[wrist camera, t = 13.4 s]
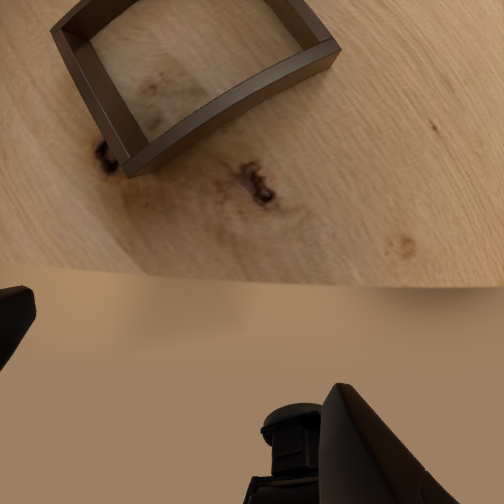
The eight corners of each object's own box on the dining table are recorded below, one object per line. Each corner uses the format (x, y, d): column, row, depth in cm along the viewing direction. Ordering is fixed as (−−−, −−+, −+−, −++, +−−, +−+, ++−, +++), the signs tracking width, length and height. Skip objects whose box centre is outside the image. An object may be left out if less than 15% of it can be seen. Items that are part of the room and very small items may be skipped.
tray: (330, 67, 15) (342, 49, 11) (153, 173, 18) (127, 179, 14) (224, -56, 12) (215, -83, 8) (77, 41, 15) (49, 30, 11)
